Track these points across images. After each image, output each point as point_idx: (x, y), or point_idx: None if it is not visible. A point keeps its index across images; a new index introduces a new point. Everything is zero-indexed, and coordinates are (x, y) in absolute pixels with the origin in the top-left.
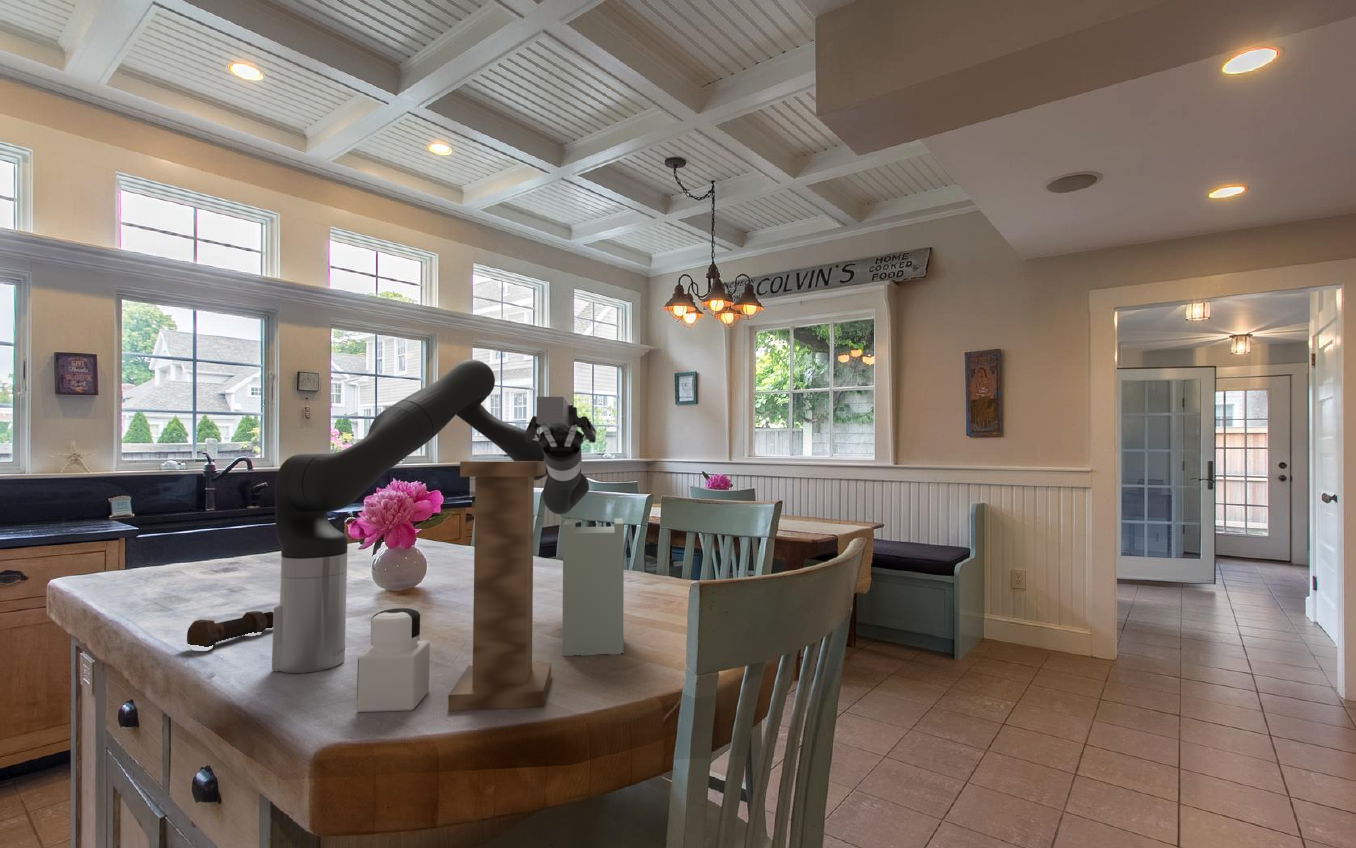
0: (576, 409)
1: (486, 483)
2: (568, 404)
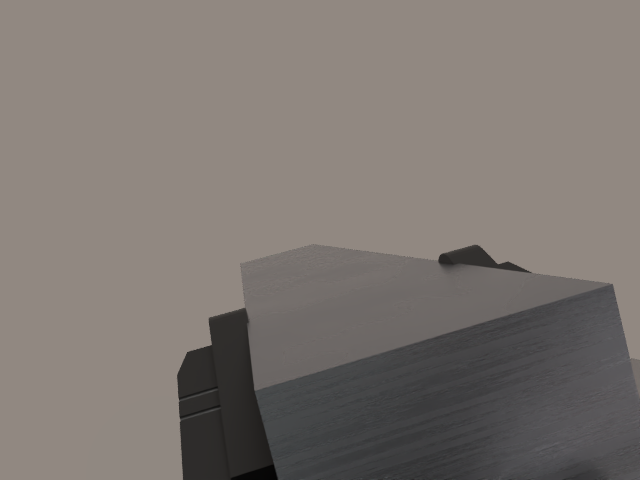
0: (185, 379)
1: None
2: (244, 300)
